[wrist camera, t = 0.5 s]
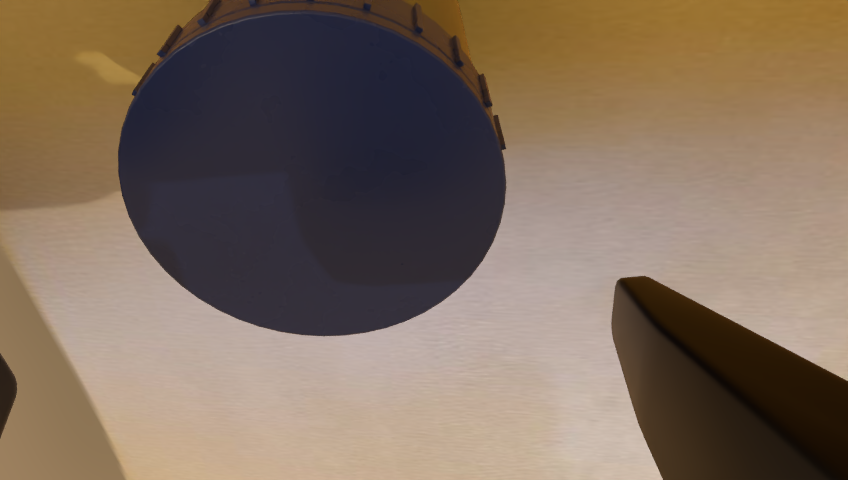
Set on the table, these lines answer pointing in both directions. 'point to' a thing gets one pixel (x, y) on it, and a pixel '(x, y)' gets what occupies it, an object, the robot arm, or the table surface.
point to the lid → (314, 163)
